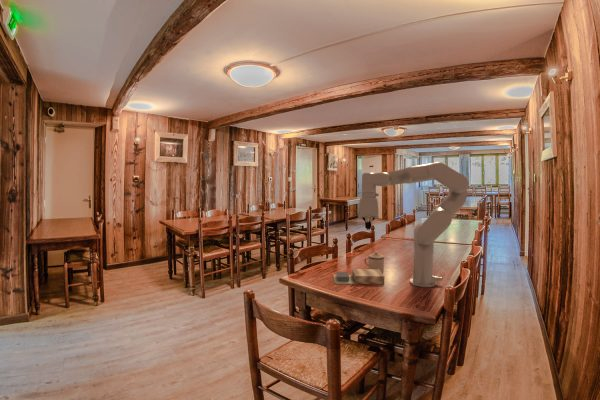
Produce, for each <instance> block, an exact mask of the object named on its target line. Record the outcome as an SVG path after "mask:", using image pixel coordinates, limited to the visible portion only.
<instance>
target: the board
mask: <svg viewBox="0 0 600 400" xmlns="http://www.w3.org/2000/svg"><path fill="white" fill-rule="evenodd" d="M351 270H352V271H351V276H352V278H353V281H354V283H355V284H357V285H360V284H361V285H362V284H363V285H365V284H366V285H385V275H384V274H383V272H381V271H380V270H379V269H369V268H351ZM355 284H354V285H355Z"/></svg>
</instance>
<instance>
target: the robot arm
mask: <svg viewBox="0 0 600 400" xmlns="http://www.w3.org/2000/svg"><path fill="white" fill-rule="evenodd" d="M428 181H436V182H437V183H440V184H441V185H442V186H445V188H447V189H448V193H447V196H445V198H444V199H443V200H442V201H441V202H440V203H439V204H438V205H437V206H436V207H435V208H434V209H432V210H431V212H430V213H429V216H428V217H427V218H426V219H425V221H423V222H420V223H418V224H417V225H415V227H414V230H413V259H412V260H413V262H412V266H413V267H412V268H413V269H412V277H411V278H410V279H409V283H410V284H411V285H413V286H415V287H419V288H432V287H435V286H437V284H436V283H437V281H438V282H442V281H443V277H442V276H438V275H435V276H434V272H433V271H434V242H435V241H436V240H437V239H438V238H439V237H440V236H441V235H442V234H443V233H444V232H445V231H446V230H447V229H448V228H449V227H450V226H451V224H452V221H453V219H452V218H453V217H454V216H455V215H456V214H457V213H458V212H459V211H460V209H462V207H463V206H464V205H465V203H466V201H467V197H468V188H469V187H470V181H469V179H468V178H467V177H466V176H465V175H463V174H461V173H460V172H459V171H456V170H455V169H453V168H452V167H450V166H448V165H447V164H445V163H443V162H441V161H435V162H431V163H424V164H419V165H413V166H408V167H405V168H402V169H399V170H393V171H386V172H385V171H383V172H382V171H381V172H363V173H362V175H361V197H360V198H359V202H358V203H359V204H358V219H360V220H363V221H364V223H365V225H364V227H365V229H366V230H370V231H371V229H372V222H373V221H374V220H378V219H379V202H378V201H379V200H378V198H377V197H379V193H377V187H383V188H384V187H388V186H394V185H400V184H401V185H402V184H403V185H404V184H415V183H422V182H423V183H424V182H428Z"/></svg>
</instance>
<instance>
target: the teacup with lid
mask: <svg viewBox="0 0 600 400" xmlns="http://www.w3.org/2000/svg"><path fill="white" fill-rule="evenodd" d="M363 260H364V261H363V262H364V264H365V265H366V266H367V267H368V269H379V270H380V271H381V272H382V273H384V272H385V271H384V266H385V265H384V264H385V263H384V260H385V257H384V255H383V254H380V253H379V252H378V251H374V252H373V253H372V254H368V257H365V258H364V259H363ZM366 260H368V263H367V261H366Z"/></svg>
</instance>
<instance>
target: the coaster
mask: <svg viewBox="0 0 600 400" xmlns="http://www.w3.org/2000/svg"><path fill="white" fill-rule="evenodd" d="M335 274H336V277H337V281H349V275H350V274H349V273H348V271H336V273H335Z"/></svg>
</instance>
